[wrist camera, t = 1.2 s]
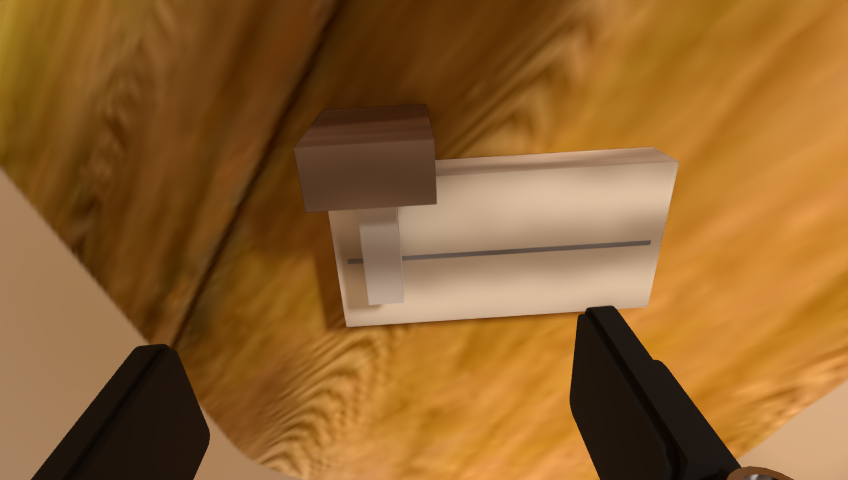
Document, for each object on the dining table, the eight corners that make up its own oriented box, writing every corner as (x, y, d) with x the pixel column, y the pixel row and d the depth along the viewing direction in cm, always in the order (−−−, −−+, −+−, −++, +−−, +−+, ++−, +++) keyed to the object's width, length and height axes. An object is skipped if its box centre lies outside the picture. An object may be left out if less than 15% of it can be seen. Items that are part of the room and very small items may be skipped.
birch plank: (331, 166, 28) (323, 183, 25) (652, 146, 28) (679, 161, 25) (351, 300, 32) (346, 327, 30) (627, 282, 33) (647, 307, 30)
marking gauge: (322, 110, 26) (293, 148, 19) (425, 103, 26) (434, 139, 19) (345, 259, 31) (328, 334, 24) (432, 253, 31) (441, 326, 24)
